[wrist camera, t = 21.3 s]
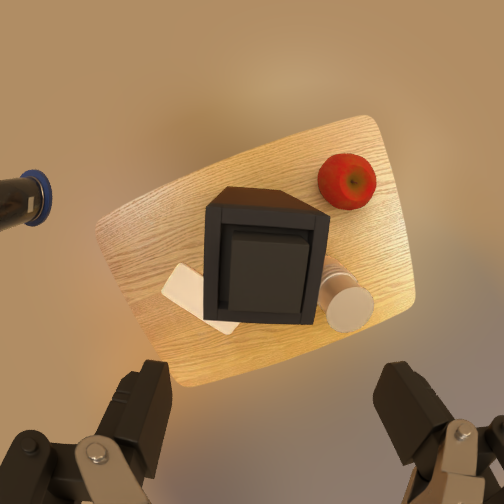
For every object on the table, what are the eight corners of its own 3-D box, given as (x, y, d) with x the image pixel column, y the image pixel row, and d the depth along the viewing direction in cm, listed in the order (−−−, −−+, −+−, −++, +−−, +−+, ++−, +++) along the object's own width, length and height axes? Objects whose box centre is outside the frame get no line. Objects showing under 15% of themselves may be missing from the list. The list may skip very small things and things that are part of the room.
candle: (319, 296, 50) (345, 342, 35) (294, 271, 48) (315, 313, 34) (347, 270, 49) (383, 308, 34) (323, 244, 47) (356, 275, 33)
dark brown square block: (229, 292, 22) (228, 310, 19) (233, 230, 21) (231, 239, 18) (292, 295, 22) (299, 313, 19) (300, 234, 21) (309, 245, 18)
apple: (346, 147, 43) (374, 142, 32) (363, 194, 45) (394, 202, 34) (300, 165, 43) (318, 163, 33) (319, 212, 46) (341, 224, 35)
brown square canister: (223, 238, 46) (203, 320, 21) (227, 186, 44) (205, 206, 18) (275, 242, 47) (313, 325, 21) (280, 190, 44) (330, 216, 19)
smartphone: (179, 261, 46) (251, 308, 49) (180, 259, 47) (251, 306, 50) (159, 292, 48) (228, 336, 51) (160, 291, 49) (228, 334, 51)
